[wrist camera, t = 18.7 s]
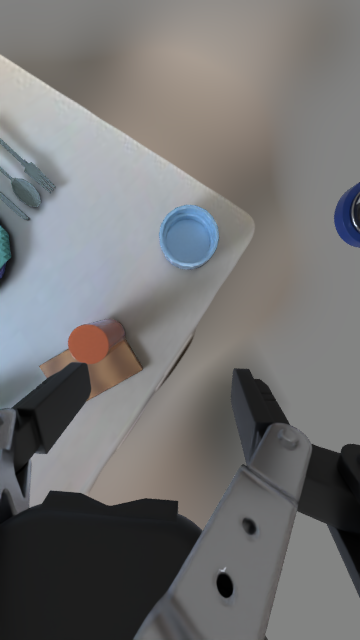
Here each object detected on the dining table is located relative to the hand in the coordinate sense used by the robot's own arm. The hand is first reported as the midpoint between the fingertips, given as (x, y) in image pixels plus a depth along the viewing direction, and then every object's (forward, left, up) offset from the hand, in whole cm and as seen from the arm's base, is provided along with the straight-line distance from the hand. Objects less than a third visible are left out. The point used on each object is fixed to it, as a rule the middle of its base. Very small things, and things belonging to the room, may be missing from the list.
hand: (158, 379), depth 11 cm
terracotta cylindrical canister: (+10, +4, -25) cm, 27 cm away
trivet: (+13, +11, -26) cm, 31 cm away
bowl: (+1, -15, -26) cm, 30 cm away
